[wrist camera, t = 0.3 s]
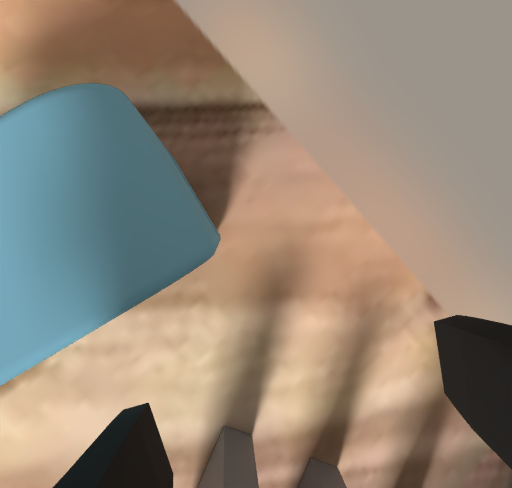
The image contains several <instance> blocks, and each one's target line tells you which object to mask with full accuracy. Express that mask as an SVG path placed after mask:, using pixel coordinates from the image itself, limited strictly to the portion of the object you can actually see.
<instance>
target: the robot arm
mask: <svg viewBox="0 0 512 488" xmlns="http://www.w3.org/2000/svg"><path fill="white" fill-rule="evenodd" d="M434 326H435V332H436V339H437V346H438V352H439V359H440V365H441V372H442V379H443V385H444V392H445V394H446V396H447V397H448V398H449V400H450V401H451V402H452V404H453V405H454V406H455V408H456V409H457V410H458V412H459V413H460V414H461V415H462V417H463V418H464V419H465V420H466V422H467V423H468V424H469V425H470V427H471V428H472V429H473V430H474V431H475V432H476V433H477V434H478V435H479V436H480V437H481V438H482V439H483V440H484V442H485V443H486V444H487V445H488V446H489V447H490V448H491V449H492V450H493V451H494V452H495V453H496V454H497V455H498V456H499V457H500V458H501V459H502V460H503V461H504V462H505V463H506V464H507V465H508V466H509V467H510V468H511V469H512V325H507V324H503V323H499V322H494V321H489V320H484V319H479V318H474V317H468V316H461V315H455V316H452V317H448V318H445V319H441V320H438V321H434ZM53 488H173V472H172V469H171V466H170V463H169V460H168V457H167V454H166V451H165V449H164V446H163V443H162V440H161V437H160V434H159V431H158V428H157V425H156V423H155V420H154V417H153V414H152V411H151V408H150V405H149V403H146V404H142V405H138V406H135V407H131V408H128V409H124V410H123V411H122V412H121V413H120V414H118V415H117V417H116V418H115V419H114V420H113V421H112V422H111V423H110V424H109V425H108V426H107V427H106V429H105V430H104V431H103V432H102V433H101V434H100V435H99V436H98V438H97V439H96V440H95V441H94V442H93V443H92V444H91V446H90V447H89V448H88V449H87V450H86V451H85V452H84V454H83V455H82V456H81V457H80V458H79V459H78V460H77V461H76V463H75V464H74V465H73V466H72V467H71V468H70V469H69V470H68V472H67V473H66V474H65V475H64V476H63V477H62V478H61V479H60V480H59V482H58V483H57V484H56V485H55V486H54V487H53Z"/></svg>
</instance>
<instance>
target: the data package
mask: <svg viewBox="0 0 512 488" xmlns="http://www.w3.org/2000/svg"><path fill="white" fill-rule="evenodd" d="M219 241H220V234H219V233H218V231H217V229H216V228H215V226H214V224H213V223H212V221H211V219H210V218H209V216H208V214H207V213H206V211H205V209H204V208H203V206H202V204H201V203H200V201H199V199H198V198H197V196H196V194H195V193H194V191H193V189H192V188H191V186H190V184H189V183H188V181H187V179H186V178H185V176H184V174H183V172H182V171H181V169H180V167H179V166H178V164H177V162H176V161H175V159H174V158H173V157H172V155H171V154H170V153H169V151H168V150H167V149H166V147H165V146H164V145H163V143H162V142H161V141H160V140H159V138H158V137H157V136H156V134H155V133H154V132H153V130H152V129H151V128H150V126H149V125H148V124H147V122H146V121H145V120H144V118H143V117H142V116H141V114H140V113H139V112H138V110H137V109H136V108H135V106H134V105H133V104H132V102H131V101H130V100H129V98H128V97H127V96H126V95H125V94H124V93H123V92H122V91H120V90H119V89H117V88H115V87H112V86H109V85H105V84H96V83H88V84H77V85H71V86H66V87H62V88H59V89H55V90H52V91H49V92H47V93H44V94H41V95H39V96H37V97H35V98H32V99H30V100H29V101H27V102H25V103H23V104H21V105H19V106H17V107H16V108H14V109H12V110H10V111H8V112H7V113H5V114H3V115H1V116H0V386H1V385H3V384H4V383H6V382H8V381H9V380H11V379H13V378H15V377H16V376H18V375H20V374H21V373H23V372H25V371H26V370H28V369H30V368H31V367H33V366H35V365H36V364H38V363H40V362H42V361H43V360H45V359H47V358H48V357H50V356H52V355H53V354H55V353H57V352H58V351H60V350H62V349H63V348H65V347H67V346H68V345H70V344H72V343H74V342H75V341H77V340H79V339H80V338H82V337H84V336H85V335H87V334H89V333H90V332H92V331H94V330H95V329H97V328H99V327H101V326H102V325H104V324H106V323H107V322H109V321H111V320H112V319H114V318H116V317H117V316H119V315H121V314H122V313H124V312H126V311H128V310H129V309H131V308H133V307H134V306H136V305H138V304H139V303H141V302H143V301H144V300H146V299H148V298H149V297H151V296H153V295H154V294H156V293H158V292H159V291H161V290H163V289H164V288H166V287H168V286H169V285H171V284H172V283H174V282H176V281H177V280H179V279H180V278H182V277H184V276H185V275H187V274H188V273H190V272H191V271H193V270H194V269H196V268H197V267H199V266H200V265H202V264H203V263H205V262H206V261H207V260H209V259H210V258H211V257H212V256H213V255H214V253H215V251H216V248H217V246H218V244H219Z"/></svg>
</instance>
